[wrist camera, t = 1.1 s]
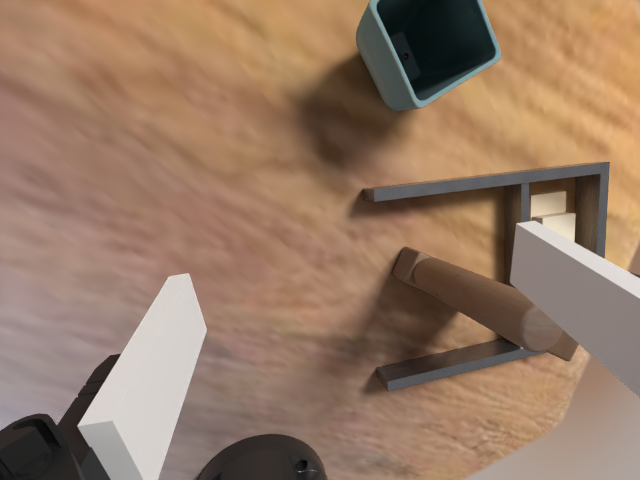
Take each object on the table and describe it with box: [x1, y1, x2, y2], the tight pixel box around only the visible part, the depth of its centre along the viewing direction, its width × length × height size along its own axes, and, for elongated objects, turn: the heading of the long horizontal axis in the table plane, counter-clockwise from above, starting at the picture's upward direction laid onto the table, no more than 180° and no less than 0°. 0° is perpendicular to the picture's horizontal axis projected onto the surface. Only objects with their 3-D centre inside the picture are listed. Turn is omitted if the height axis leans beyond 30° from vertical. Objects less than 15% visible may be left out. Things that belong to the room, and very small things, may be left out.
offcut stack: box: [529, 191, 576, 242], centre depth 43 cm, size 16×5×3 cm, turn 5°
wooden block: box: [392, 247, 579, 361], centre depth 33 cm, size 4×11×18 cm, turn 65°
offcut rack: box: [363, 162, 610, 392], centre depth 41 cm, size 22×29×3 cm
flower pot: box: [356, 0, 501, 111], centre depth 32 cm, size 9×9×9 cm
